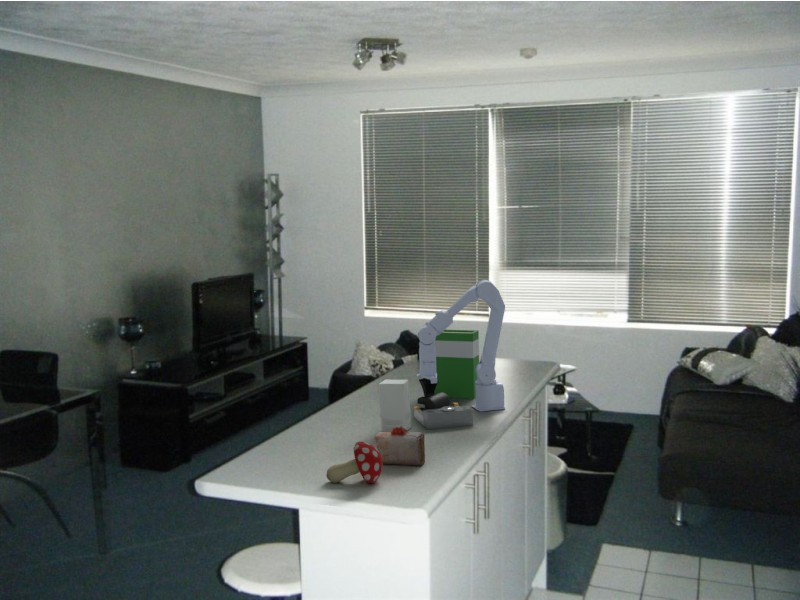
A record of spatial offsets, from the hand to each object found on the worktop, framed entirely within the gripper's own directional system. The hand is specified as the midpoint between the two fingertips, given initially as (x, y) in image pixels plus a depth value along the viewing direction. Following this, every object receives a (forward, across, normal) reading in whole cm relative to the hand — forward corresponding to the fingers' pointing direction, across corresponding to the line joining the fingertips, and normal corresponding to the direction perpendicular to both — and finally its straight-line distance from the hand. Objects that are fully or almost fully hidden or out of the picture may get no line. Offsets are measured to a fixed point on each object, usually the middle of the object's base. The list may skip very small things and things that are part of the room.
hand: (429, 399), depth 276 cm
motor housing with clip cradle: (+3, +16, 0) cm, 17 cm away
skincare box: (+3, +21, -17) cm, 27 cm away
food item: (+3, +53, -24) cm, 58 cm away
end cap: (+3, +7, -1) cm, 8 cm away
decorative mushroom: (+3, +64, -39) cm, 75 cm away
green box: (+4, -17, +15) cm, 23 cm away
